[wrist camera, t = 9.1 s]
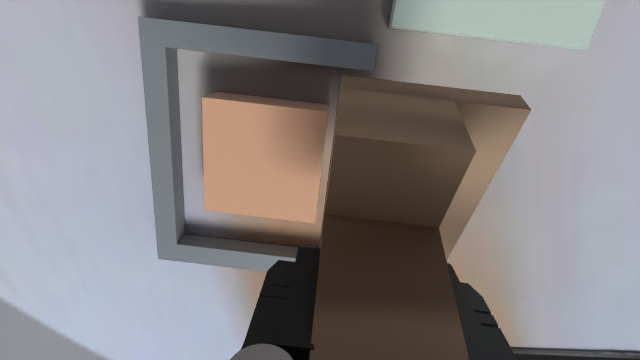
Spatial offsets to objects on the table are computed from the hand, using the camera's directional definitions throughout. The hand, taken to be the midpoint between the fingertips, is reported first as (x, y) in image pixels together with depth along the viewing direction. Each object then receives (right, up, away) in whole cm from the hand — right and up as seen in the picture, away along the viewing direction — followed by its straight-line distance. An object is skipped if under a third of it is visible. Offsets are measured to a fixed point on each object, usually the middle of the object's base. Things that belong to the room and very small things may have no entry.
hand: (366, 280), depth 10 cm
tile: (-4, +5, +9) cm, 11 cm away
